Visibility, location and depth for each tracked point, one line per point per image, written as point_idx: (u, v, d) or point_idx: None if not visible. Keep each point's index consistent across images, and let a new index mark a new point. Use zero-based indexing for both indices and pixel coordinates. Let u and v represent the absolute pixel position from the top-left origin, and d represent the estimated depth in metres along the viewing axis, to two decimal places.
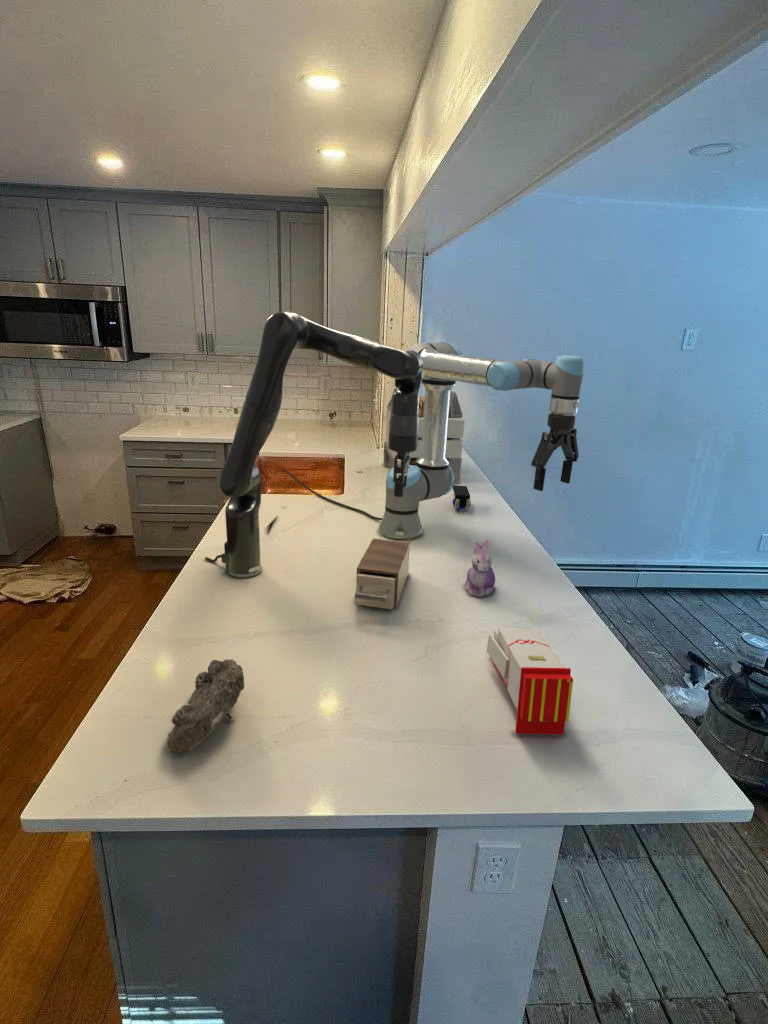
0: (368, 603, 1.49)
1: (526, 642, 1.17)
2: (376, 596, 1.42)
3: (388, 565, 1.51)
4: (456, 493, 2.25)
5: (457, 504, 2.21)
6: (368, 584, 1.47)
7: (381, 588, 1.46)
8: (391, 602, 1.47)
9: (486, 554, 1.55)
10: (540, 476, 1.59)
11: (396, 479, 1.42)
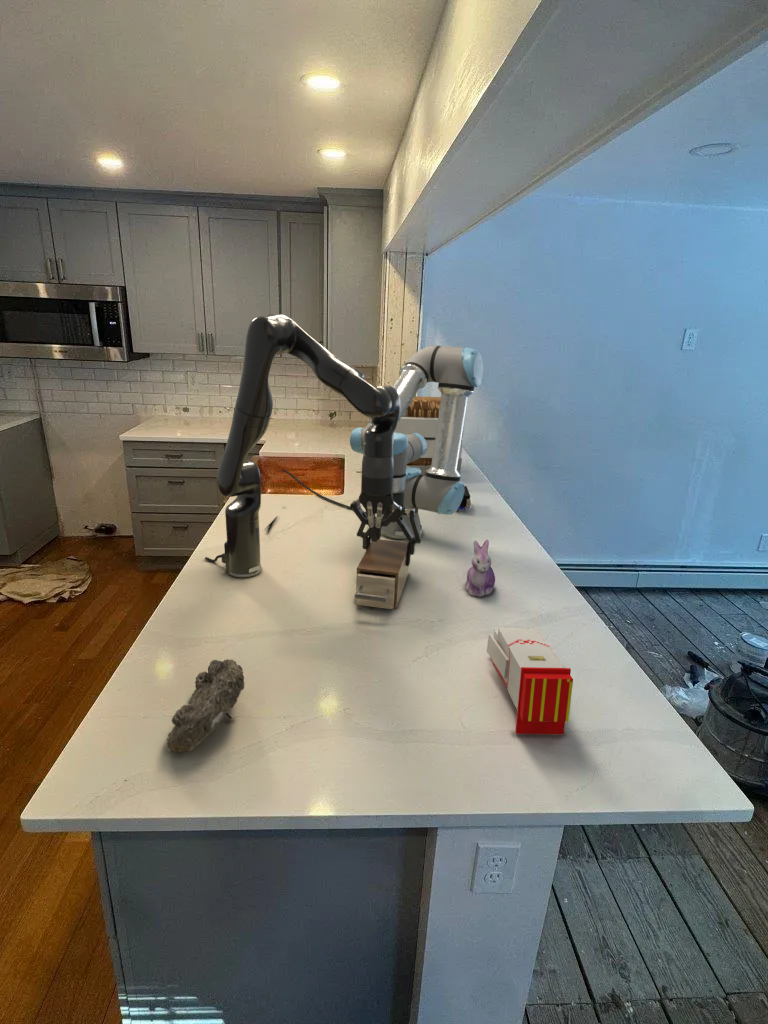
0: (368, 603, 1.49)
1: (526, 642, 1.17)
2: (376, 596, 1.42)
3: (388, 565, 1.51)
4: None
5: None
6: (368, 584, 1.47)
7: (381, 588, 1.46)
8: (391, 602, 1.47)
9: (486, 554, 1.55)
10: (364, 546, 1.63)
11: None
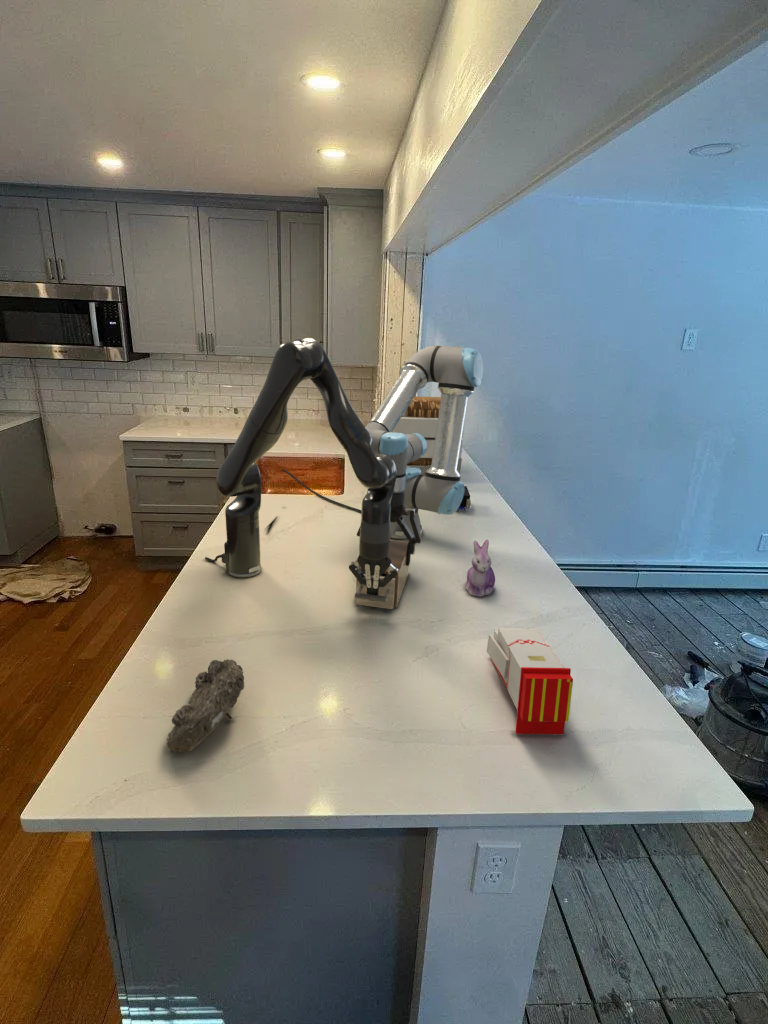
0: (368, 603, 1.49)
1: (526, 642, 1.17)
2: (376, 596, 1.42)
3: None
4: None
5: None
6: None
7: (381, 588, 1.47)
8: (391, 602, 1.47)
9: (486, 554, 1.55)
10: None
11: None
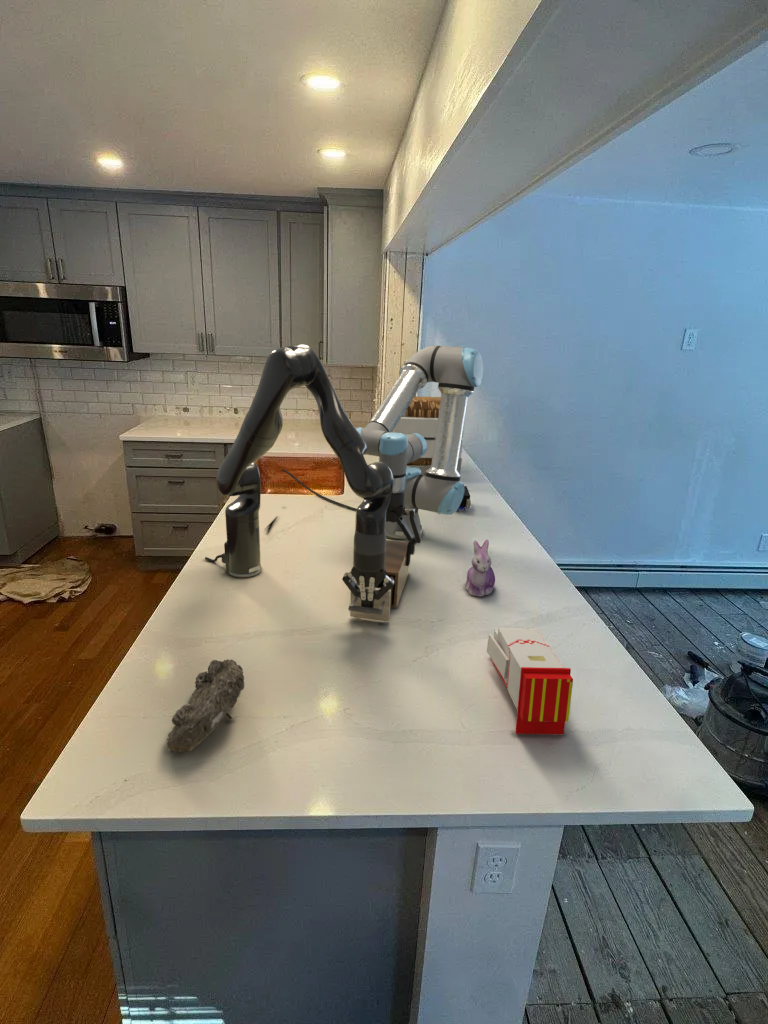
0: (363, 615, 1.43)
1: (526, 642, 1.17)
2: (371, 609, 1.36)
3: (388, 565, 1.51)
4: None
5: None
6: None
7: (376, 600, 1.41)
8: (387, 614, 1.41)
9: (486, 554, 1.55)
10: None
11: None
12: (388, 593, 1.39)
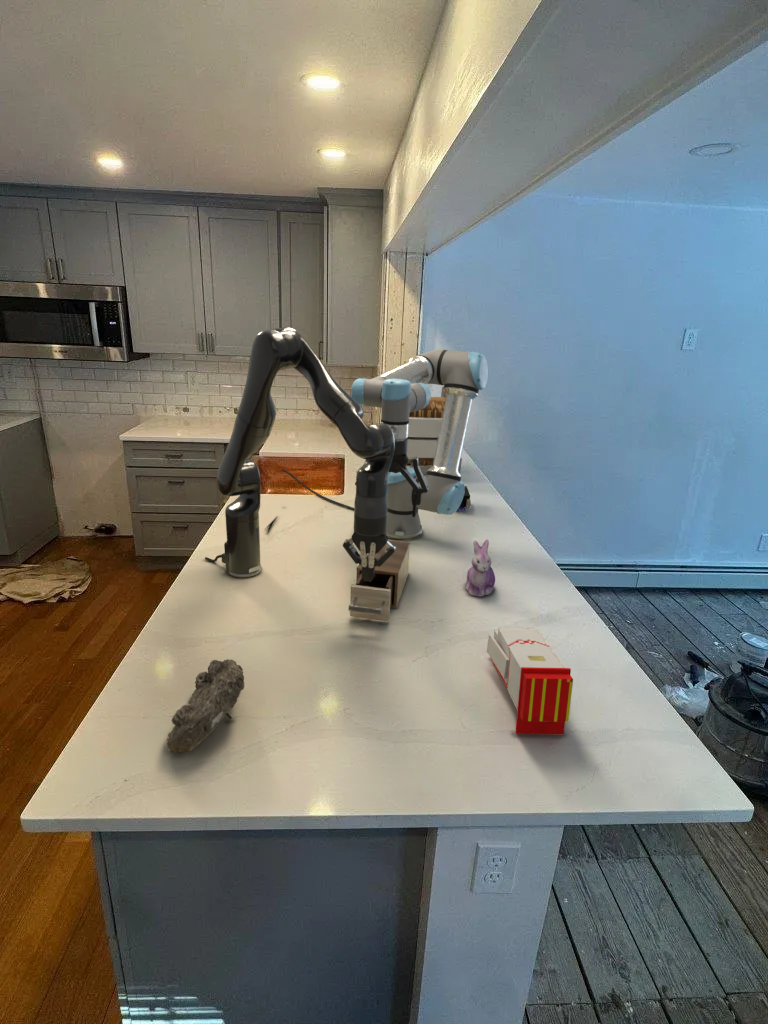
0: (363, 615, 1.43)
1: (526, 642, 1.17)
2: (371, 608, 1.36)
3: (388, 565, 1.51)
4: None
5: None
6: (363, 595, 1.41)
7: (376, 600, 1.41)
8: (386, 614, 1.41)
9: (486, 554, 1.55)
10: None
11: None
12: (388, 593, 1.39)
